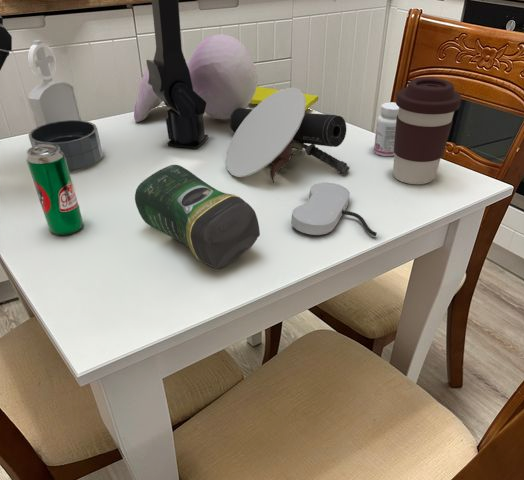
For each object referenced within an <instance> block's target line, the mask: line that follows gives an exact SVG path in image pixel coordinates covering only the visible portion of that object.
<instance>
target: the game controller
mask: <svg viewBox="0 0 524 480" xmlns="http://www.w3.org/2000/svg"><path fill="white" fill-rule="evenodd" d="M308 193H309V194H308V201H307V202H306V203H304V204H301V205H298V206H296V207H295V208H293V210H292V211H291V219H290V224H291V226H292V228H294V229H295V231H298V232H300V233H303V234H307V235H312V236H313V235H314V236H321V235H326V234H329V233H331V232H332V231H333V230H334V229H335V228H336V226H337V224H338V223H339V222H340V219H341V218H342V216H343V215H347V216H351V217H354V218H356V219H358V220H359V221H360V223H361V224H362V227H363V228H364V229H365V231H366V232H367V233H368V234H369V235H371V236H373V237H376V236H377V234H378V232H376V231H374V230H372V229H371V227H369V225H368V224H367V221H365V219H364V218H363V217H362V216H361V215H360V214H359V213H356V212H353V211H350V210H346V209H347V207H348V205H349V200H350V196H351V195H350V194H351V193H350V191H349V189H348V188H346V187H345V186H343V185H341V184H338V183H335V182H317V183H314V184H312V185H311V186H310V188H309V192H308Z"/></svg>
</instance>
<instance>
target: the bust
mask: <svg viewBox="0 0 524 480" xmlns="http://www.w3.org/2000/svg"><path fill="white" fill-rule="evenodd" d="M185 61H186V63H187V66H188V69H189V72H190V77H191V81H192V86H193V91H194V92H195V93H196V94H198V95H199V96H200V97H201V98H202V99H203V100H204V101H206V108H205V113H204V114H206V115H207V116H208V117H210V118H211V119H212V120H215V121H216V120H230V117H231V114H232V112H233V111H234V110H235V109H238V108H245V109H247V107H249V105H250V104H251V103H250V102H251V100H252V98H253V96H254V94H255V91H256V87H258V81H259V80H258V73H257V68H256V65H255V63H254V60H253V58H252V57H251V54H250V52H249V51H248V49H247V48H246V47H245V45H244V44H243V43H242V41H240V40H239V39H237V38H236V37H233V36H231V35H227V34H223V33H221V34H214V35H211V36H209V37H207V38H204V39H203V40H202V41H201V42H200V43H199V44H198V45H197V46H196V47H195V49H194V51H193V54H192V55H191V57H190V58H189V60H185ZM148 80H149V71H148V67H146V70H145V71H144V74H143V75H142V78H141V80H140V84H139V86H138V92H137V97H136V101H135V105H134V110H133V111H134V112H133V118H134V120H135V121H136V122H137V123H138V122H141V121H144V120H146V118H147V117H148V116H149V114H150V113H151V112H152V110H154V109H156V108H158V107H159V106H160V105H161V104H162V103H163V102H164V101H163V100H162V99H161V98H159V97H158V96H157V95H156V94H155V93H154V91H153V88H152V86H151V85H150V84H148Z"/></svg>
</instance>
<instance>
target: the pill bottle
mask: <svg viewBox="0 0 524 480" xmlns="http://www.w3.org/2000/svg"><path fill="white" fill-rule="evenodd" d="M398 112H399V107H398V106H397V105H396V101H395V102H392V101H391V102H390V101H389V102H384V103H382V104H381V106H380V114H379V115H378V117H377V120H376V121H377V122H376V129H375V138H374V143H373V144H374V145H373V152H374V154H376V155H378V156H381V157H394V155H395V153H394V141H395V130H396V119H397V115H398Z"/></svg>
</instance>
